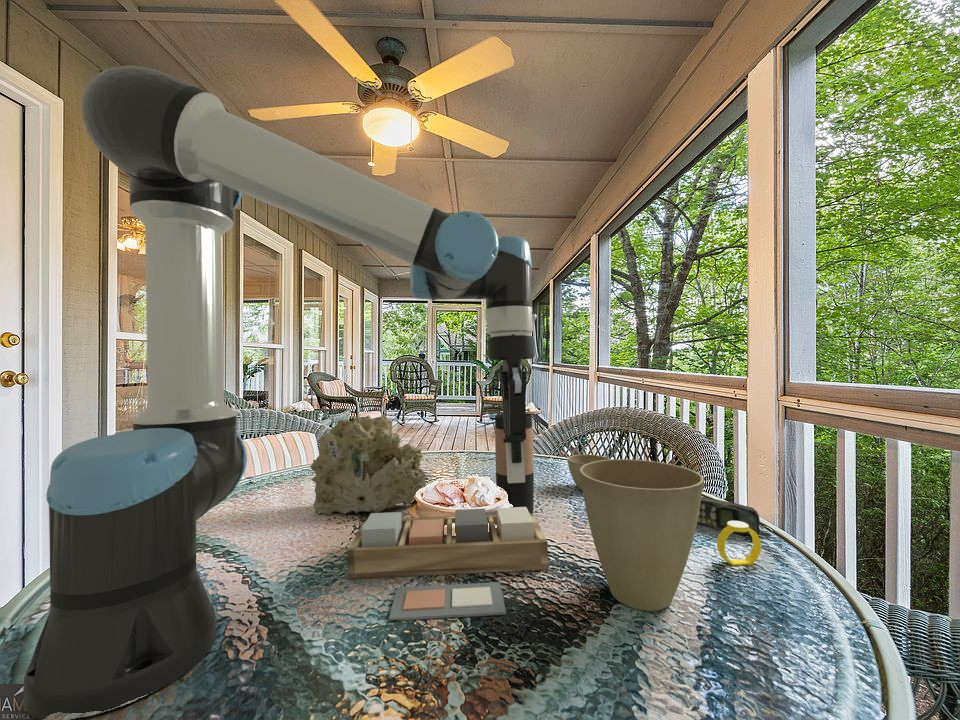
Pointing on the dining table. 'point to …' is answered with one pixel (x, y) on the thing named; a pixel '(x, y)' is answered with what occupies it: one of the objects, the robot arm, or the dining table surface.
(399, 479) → the coral
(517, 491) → the travel mug
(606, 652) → the dining table surface
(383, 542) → the key bluegrey
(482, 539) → the grey rectangular block
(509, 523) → the cream rectangular block
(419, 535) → the key terracotta
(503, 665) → the dining table surface
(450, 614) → the card
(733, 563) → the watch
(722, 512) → the mobile phone
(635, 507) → the plant pot
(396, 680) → the dining table surface
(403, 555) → the wooden compartment tray
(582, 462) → the flower pot
